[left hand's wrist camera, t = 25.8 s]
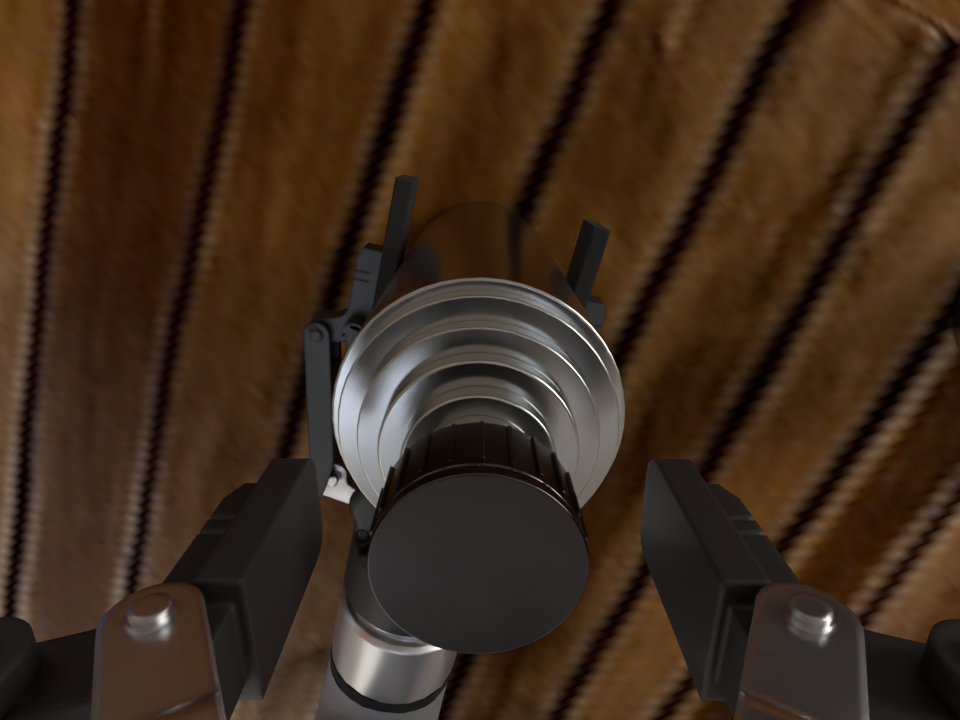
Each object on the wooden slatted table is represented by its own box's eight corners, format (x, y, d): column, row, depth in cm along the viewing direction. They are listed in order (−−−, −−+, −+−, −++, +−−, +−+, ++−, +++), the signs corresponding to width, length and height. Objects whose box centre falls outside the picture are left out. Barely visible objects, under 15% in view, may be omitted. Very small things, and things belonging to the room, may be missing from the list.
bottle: (574, 288, 34) (765, 583, 11) (464, 363, 36) (438, 753, 13) (495, 172, 32) (534, 249, 9) (381, 258, 34) (173, 506, 11)
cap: (552, 595, 13) (564, 669, 11) (371, 570, 13) (352, 641, 11) (596, 436, 12) (618, 490, 10) (393, 404, 12) (376, 454, 10)
